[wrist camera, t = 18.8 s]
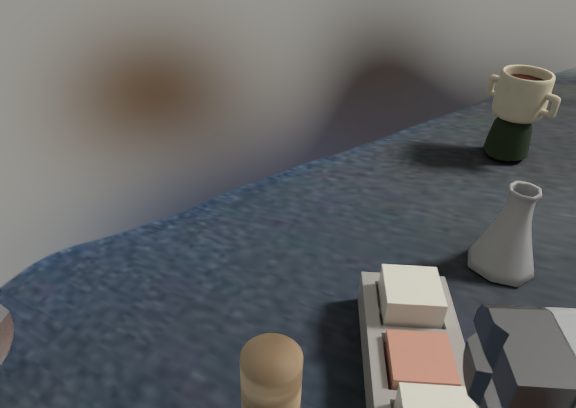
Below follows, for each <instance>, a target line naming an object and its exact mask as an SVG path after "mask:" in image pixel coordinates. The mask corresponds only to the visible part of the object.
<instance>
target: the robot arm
mask: <svg viewBox="0 0 576 408" xmlns="http://www.w3.org/2000/svg"><path fill="white" fill-rule="evenodd" d="M1 293H2V292H1V289H0V295H1ZM473 321H474V324H475V327H476V331H477V333H475V334H474V335H473V336H471V337H470V338H468V339H467V342H466V346H465V349H464V353H463V376H464V383H465V387H466V391H467V395H468V396H469V397H470V398H471V399H472V400H473V401H474V402H475V403H476V404H477V405H478V406H479V408H576V309H575V308H554V307H544V308H542V307H530V306H510V305H490V304H482V305H481V306H480V307H479V308H478V309H477V312H476V314H475V317H474V320H473ZM13 335H14V330H13V320H12V317H11V315H10V312H9V311H8V310H7V309H6V308H5V307H3V306H2V305H1V304H0V365H1V364H2V362H3V360H4V359H5V357H6V356H7V354H8V352H9V350H10V346H11V343H12V339H13Z"/></svg>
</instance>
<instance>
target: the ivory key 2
mask: <svg viewBox="0 0 576 408" xmlns="http://www.w3.org/2000/svg"><path fill="white" fill-rule="evenodd" d="M394 408H476V405H475V402H474V401H473V400H472V399H471V398H470V397H469V396H468V395H467V391H466V387H465V386H450V385H434V384H419V383H403V382H399V385H398V389H397V394H396V398H395V402H394Z"/></svg>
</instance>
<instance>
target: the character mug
mask: <svg viewBox="0 0 576 408" xmlns="http://www.w3.org/2000/svg"><path fill="white" fill-rule="evenodd" d="M496 82H498V84H497V88H496V92H495V91H494V86H495V83H496ZM554 83H555V75H554V74H553V73H552V72H550V71H548V70H546V69H543V68H540V67H535V66H529V65H508V66H505V67H503V68H502V70H501V73H500V76H498V75H491V77H490V79H489V83H488V87H487V91H486V93H487V95H488V96H491V97H493V98H494V99H493V103H492V112H493V114H494V115H495V116H497V118H496V119H495V120H494V123H493V125H492V127H491V129H490V131H489V134H488V136H487V139H486V141H485V144H484V151H485V152H486V153H487V154H488V156H490V157H493V158H495V159H497V160H503V161H518V160H522V159H525V158H526V157H527V154H528V150H529V145H530V139H531V133H532V125H531V123H534V122H537V121H538V120H540V119H541V117H542V116H544V117H546V118H549V119H554V118H555V116H556V113H557V111H558V108H559V105H560V102H561V98H560V97H559V96H556V95H553V94H551V93H552V89H553V86H554ZM549 101H552V106H551V109H550V111H547V110H546V108H547V105H548V102H549Z"/></svg>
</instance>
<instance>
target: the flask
mask: <svg viewBox="0 0 576 408" xmlns="http://www.w3.org/2000/svg"><path fill="white" fill-rule="evenodd" d="M508 189H509V196H508V199H507V202H506V204H505V205H504V207H503V209H502V210H501V212H500V214H499V215H498V217H497V218H496V219H495V220H494V221H493V223H492V224H491V225H490V226H489V227H488V229H487V230H486V231H485V232H484V233H483V234H482V235H481V236H480V238H479V239H478V240H477V241H476V242H475V243H474V244H473V245H472V246H471V248H470V249H469V250H468V267H469V268H471V269H472V270H474V271H475V272H477V273H478V274H480V275H481V276H483V277H484V278H486V279H487V280H489V281H491V282H495V283H500V284H505V285H509V286H514V287H520V286H522V285H523V284H525V283H526V282H528V281H529V280H531V279H532V278H533V277H534V265H533V253H532V234H531V224H532V216H533V210H534V207H535V204H536V202H537V200H539V199H540V198H541V197H542V190H541V188H540V187H538V186H536V185H534V184H532V183H529V182H523V181H517V180H516V181H514V182H512V183H510V184H509V187H508Z"/></svg>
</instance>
